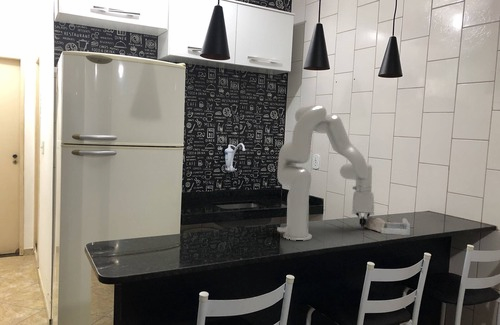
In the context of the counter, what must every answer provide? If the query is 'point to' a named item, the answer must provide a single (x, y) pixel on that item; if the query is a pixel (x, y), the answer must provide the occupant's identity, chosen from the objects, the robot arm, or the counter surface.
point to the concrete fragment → (375, 223)
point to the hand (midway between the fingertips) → (362, 226)
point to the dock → (391, 227)
